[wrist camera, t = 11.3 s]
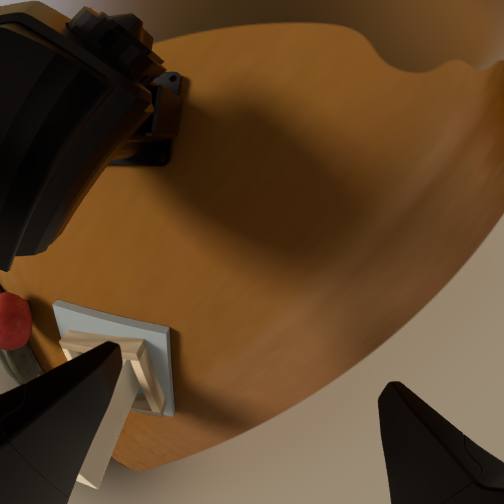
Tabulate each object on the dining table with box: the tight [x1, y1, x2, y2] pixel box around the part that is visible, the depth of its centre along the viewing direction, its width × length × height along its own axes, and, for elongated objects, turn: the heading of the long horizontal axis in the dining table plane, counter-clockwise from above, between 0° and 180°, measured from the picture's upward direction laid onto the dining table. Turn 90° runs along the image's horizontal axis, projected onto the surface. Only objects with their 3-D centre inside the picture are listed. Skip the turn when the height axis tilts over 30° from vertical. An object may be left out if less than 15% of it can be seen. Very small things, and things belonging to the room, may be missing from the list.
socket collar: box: [59, 330, 167, 417], centre depth 22 cm, size 9×9×2 cm
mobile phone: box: [0, 286, 44, 385], centre depth 22 cm, size 5×3×15 cm
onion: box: [0, 293, 32, 351], centre depth 18 cm, size 6×6×8 cm
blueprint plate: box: [52, 300, 175, 417], centre depth 23 cm, size 12×12×1 cm
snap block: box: [76, 359, 141, 489], centre depth 17 cm, size 4×4×12 cm
